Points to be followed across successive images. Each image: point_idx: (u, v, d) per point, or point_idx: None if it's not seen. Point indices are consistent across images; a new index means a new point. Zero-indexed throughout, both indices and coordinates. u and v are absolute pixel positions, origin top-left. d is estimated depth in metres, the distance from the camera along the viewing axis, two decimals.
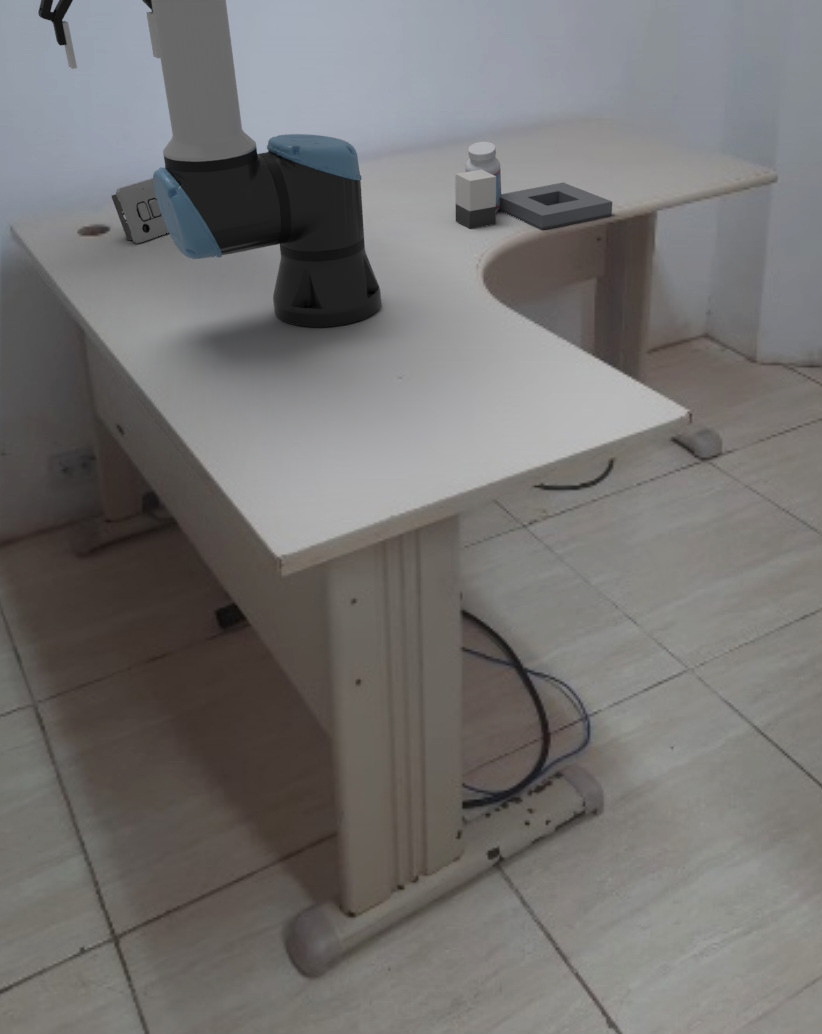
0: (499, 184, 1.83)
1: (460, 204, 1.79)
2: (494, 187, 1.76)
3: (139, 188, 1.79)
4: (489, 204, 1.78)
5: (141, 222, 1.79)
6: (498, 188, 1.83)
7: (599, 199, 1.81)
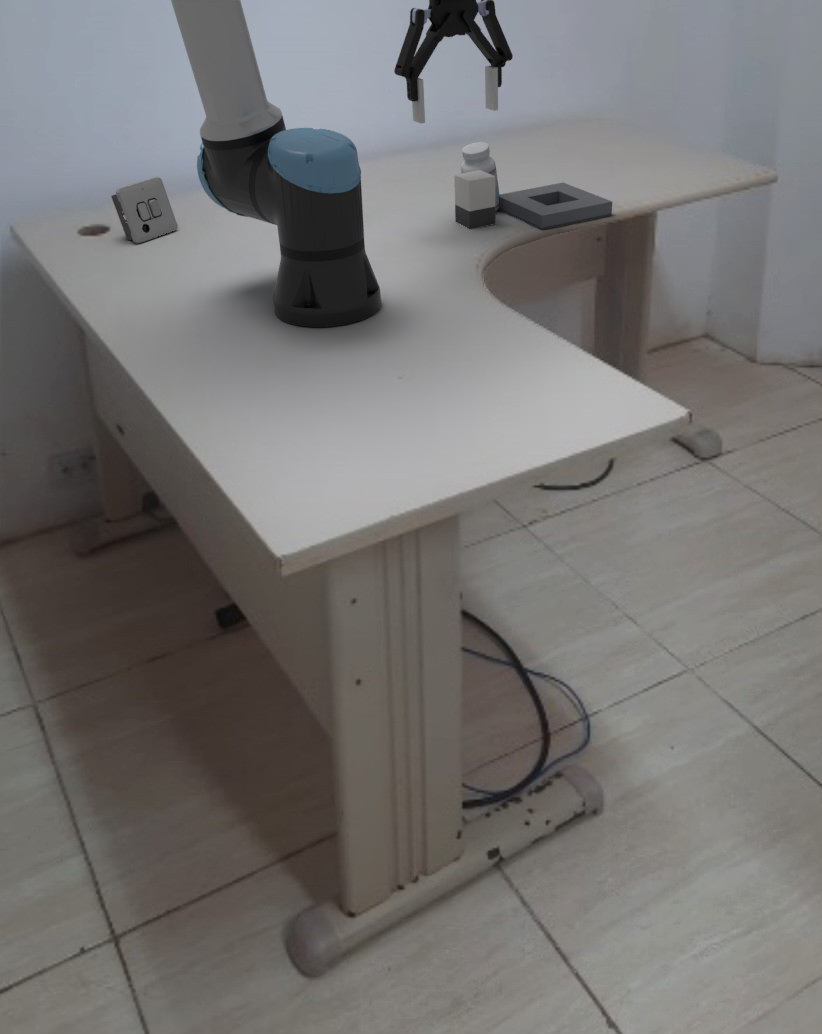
0: (496, 183, 1.83)
1: (460, 205, 1.79)
2: (493, 187, 1.77)
3: (139, 188, 1.79)
4: (489, 204, 1.78)
5: (141, 222, 1.79)
6: (495, 187, 1.83)
7: (599, 199, 1.81)
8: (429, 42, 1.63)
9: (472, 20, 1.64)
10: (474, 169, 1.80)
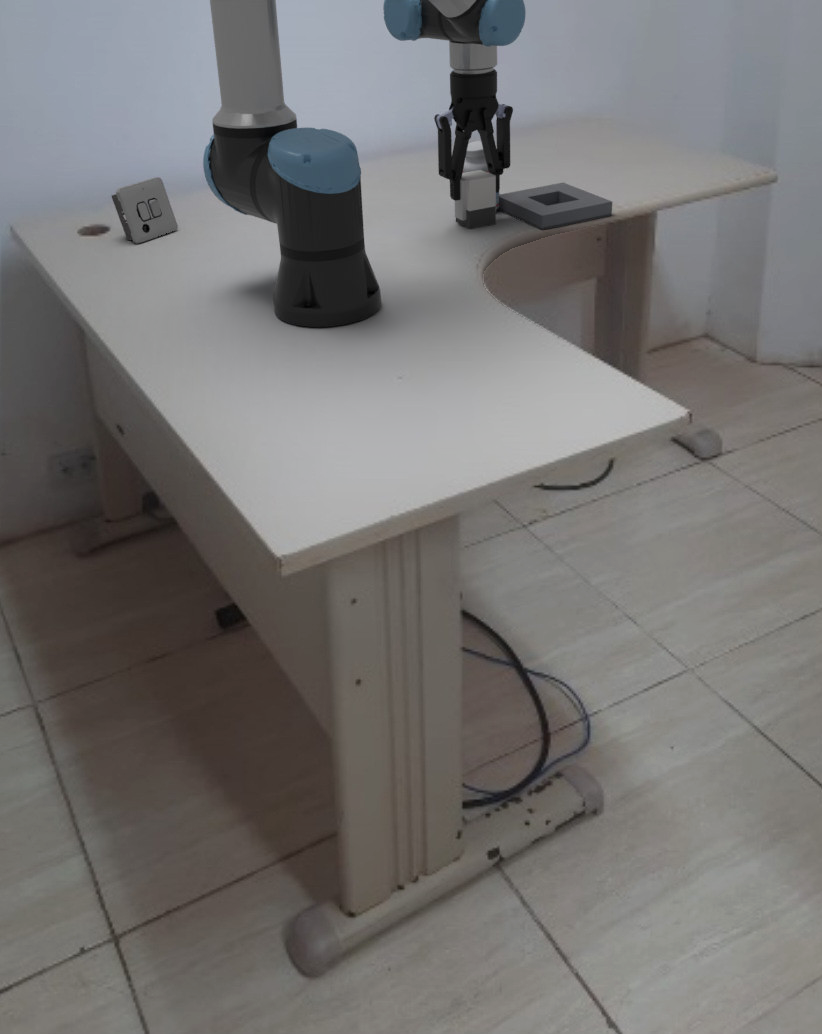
0: None
1: None
2: (493, 187, 1.77)
3: (139, 188, 1.79)
4: (489, 204, 1.78)
5: (141, 222, 1.79)
6: None
7: (599, 199, 1.81)
8: (460, 143, 1.72)
9: (489, 119, 1.71)
10: (475, 166, 1.80)
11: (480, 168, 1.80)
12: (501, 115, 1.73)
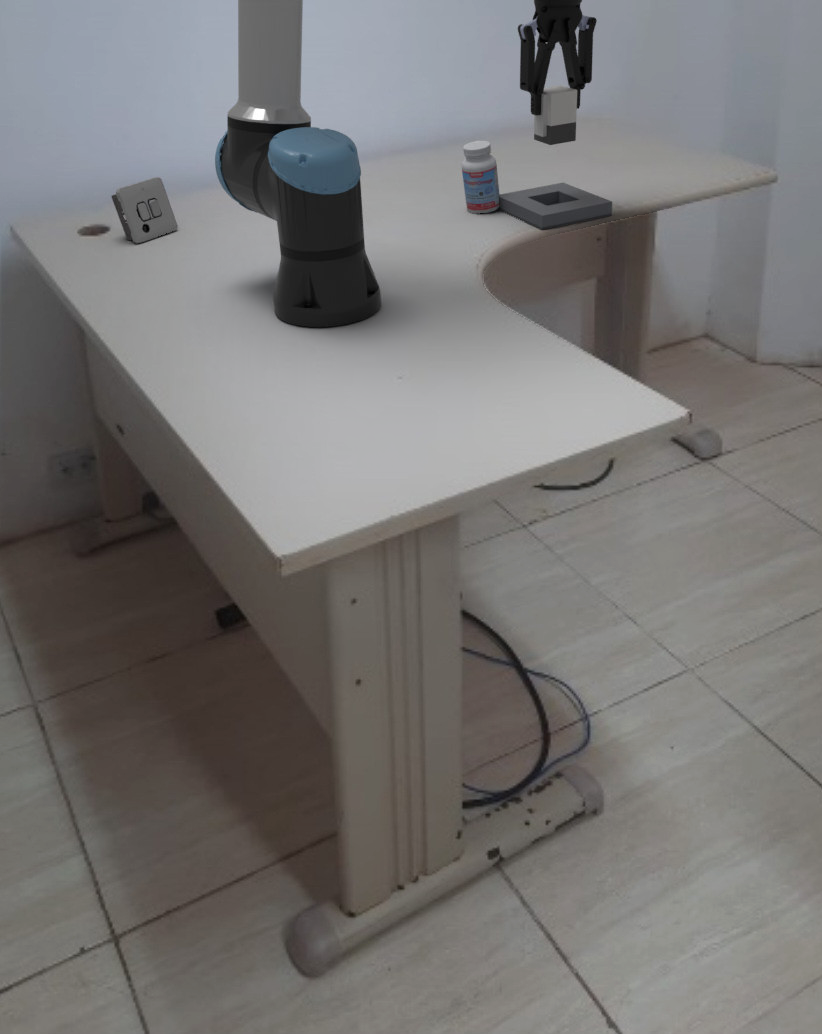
0: (496, 181, 1.83)
1: None
2: (575, 101, 1.73)
3: (139, 188, 1.79)
4: (570, 119, 1.74)
5: (141, 222, 1.79)
6: (495, 185, 1.83)
7: (599, 199, 1.81)
8: (543, 55, 1.69)
9: (573, 30, 1.68)
10: (475, 165, 1.80)
11: (480, 167, 1.80)
12: (584, 26, 1.70)
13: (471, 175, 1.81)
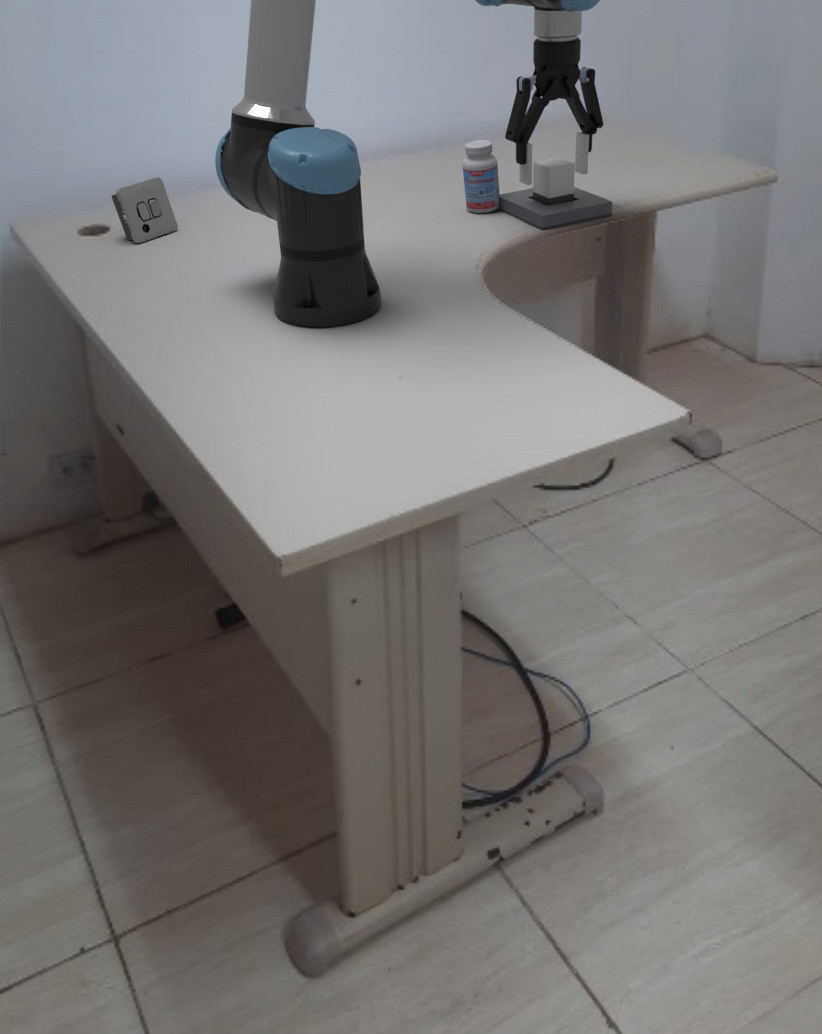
0: (497, 181, 1.83)
1: (538, 192, 1.82)
2: (572, 174, 1.79)
3: (139, 188, 1.79)
4: (567, 191, 1.80)
5: (141, 222, 1.79)
6: (495, 185, 1.83)
7: (599, 199, 1.81)
8: (536, 108, 1.72)
9: (573, 86, 1.73)
10: (476, 164, 1.80)
11: (481, 165, 1.80)
12: (585, 80, 1.74)
13: (472, 173, 1.81)
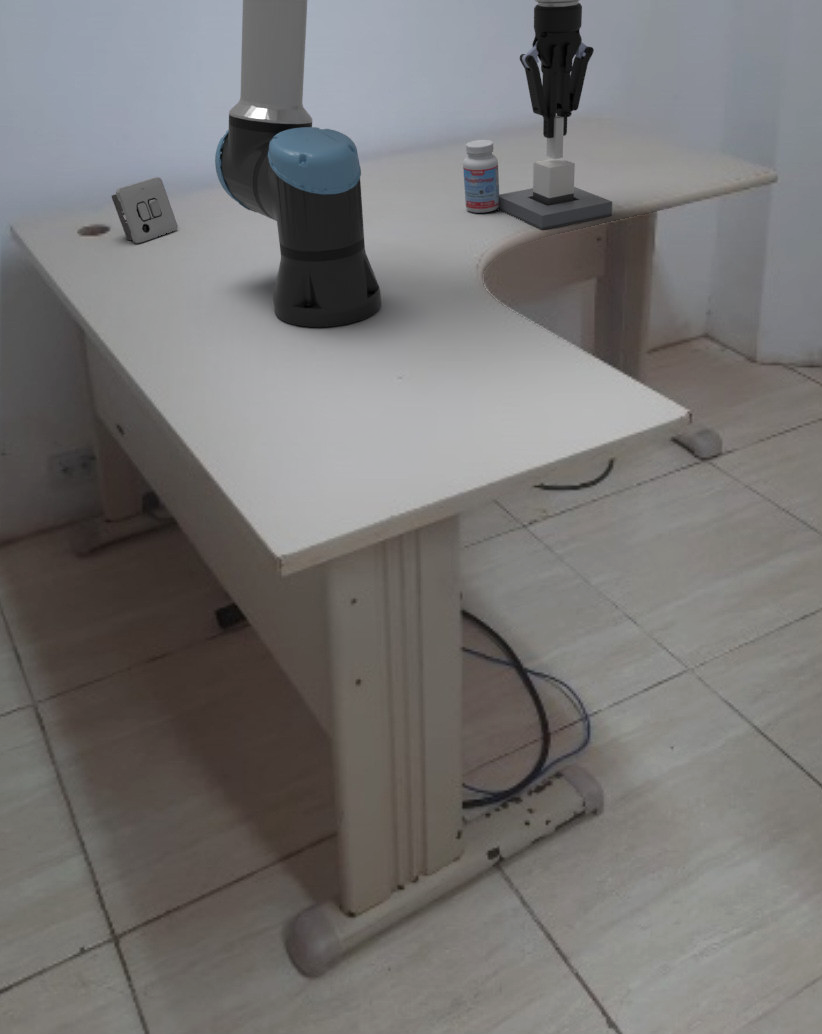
0: (497, 181, 1.83)
1: (538, 192, 1.82)
2: (572, 174, 1.79)
3: (139, 188, 1.79)
4: (567, 191, 1.80)
5: (141, 222, 1.79)
6: (495, 185, 1.83)
7: (599, 199, 1.81)
8: (549, 80, 1.71)
9: (571, 56, 1.70)
10: (476, 163, 1.80)
11: (482, 165, 1.80)
12: (581, 54, 1.72)
13: (473, 172, 1.81)
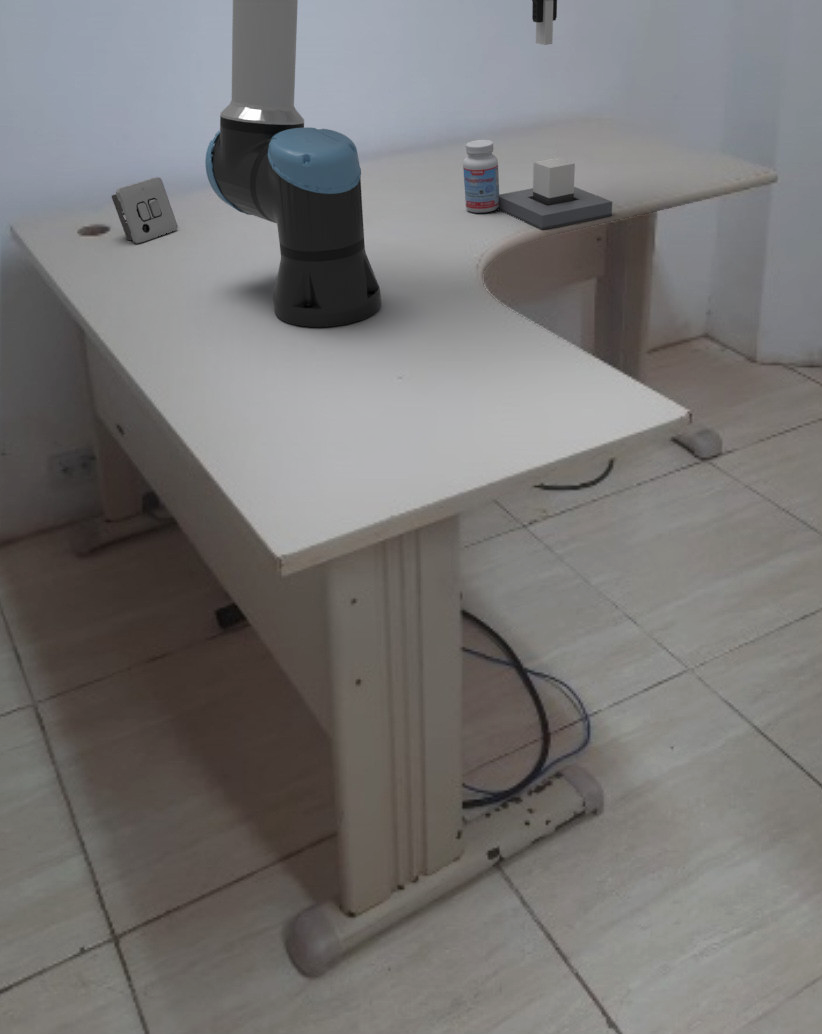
0: (497, 181, 1.83)
1: (538, 192, 1.82)
2: (572, 174, 1.79)
3: (139, 188, 1.79)
4: (567, 191, 1.80)
5: (141, 222, 1.79)
6: (495, 185, 1.83)
7: (599, 199, 1.81)
8: None
9: None
10: (476, 163, 1.80)
11: (482, 165, 1.80)
12: None
13: (473, 172, 1.81)
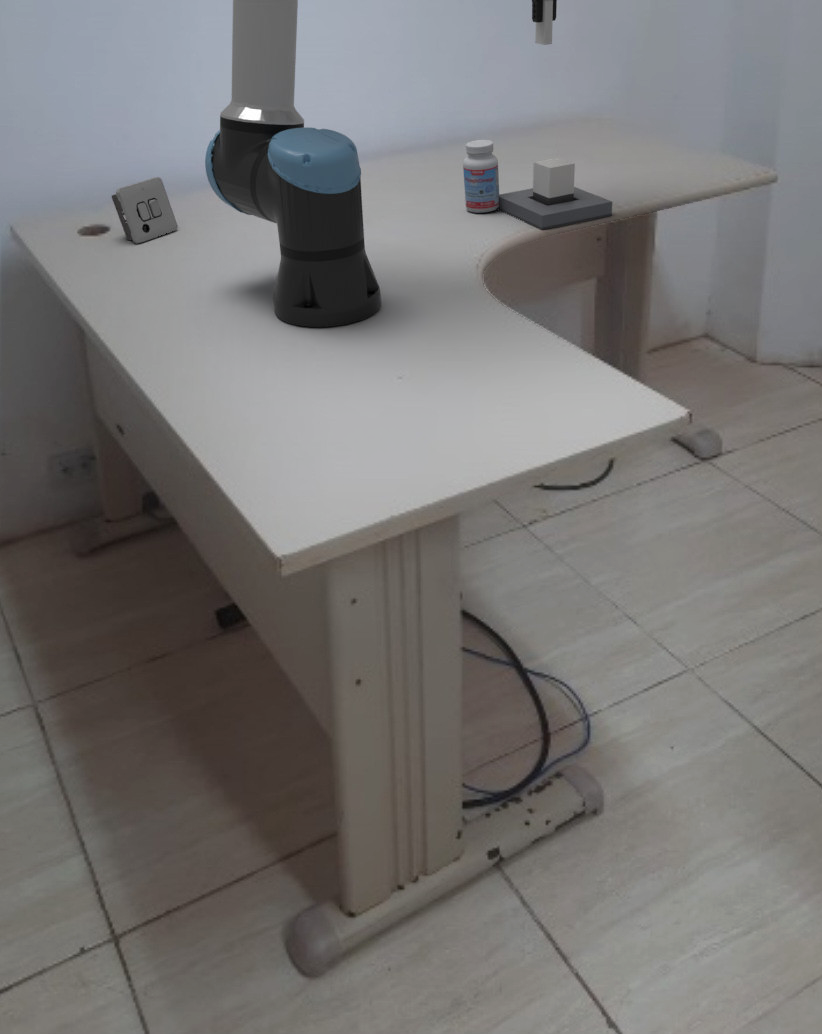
0: (497, 181, 1.83)
1: (538, 192, 1.82)
2: (572, 174, 1.79)
3: (139, 188, 1.79)
4: (567, 191, 1.80)
5: (141, 222, 1.79)
6: (495, 185, 1.83)
7: (599, 199, 1.81)
8: None
9: None
10: (476, 163, 1.80)
11: (482, 165, 1.80)
12: None
13: (473, 172, 1.81)
